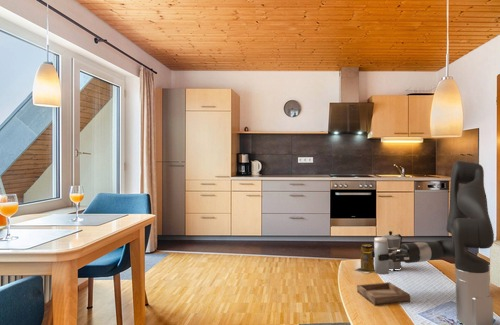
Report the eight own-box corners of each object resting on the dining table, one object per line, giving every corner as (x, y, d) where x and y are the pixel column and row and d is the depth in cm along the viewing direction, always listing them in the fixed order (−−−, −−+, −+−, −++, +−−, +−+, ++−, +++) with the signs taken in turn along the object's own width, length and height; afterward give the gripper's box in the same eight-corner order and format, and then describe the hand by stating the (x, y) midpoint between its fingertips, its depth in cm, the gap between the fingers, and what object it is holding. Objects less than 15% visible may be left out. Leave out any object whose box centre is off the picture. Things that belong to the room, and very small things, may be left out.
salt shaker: (391, 273, 137) (390, 239, 137) (379, 275, 137) (378, 240, 136) (384, 270, 142) (383, 236, 142) (372, 271, 141) (371, 237, 141)
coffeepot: (392, 273, 167) (391, 234, 167) (374, 268, 175) (373, 231, 175) (411, 267, 176) (409, 230, 176) (393, 263, 184) (392, 227, 184)
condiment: (378, 270, 173) (377, 245, 173) (366, 273, 168) (365, 248, 168) (365, 267, 179) (364, 242, 179) (354, 270, 174) (353, 245, 174)
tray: (410, 302, 133) (409, 294, 133) (374, 305, 131) (374, 297, 131) (389, 289, 147) (389, 282, 147) (357, 292, 145) (357, 285, 145)
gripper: (404, 239, 149) (365, 242, 146) (426, 247, 134) (384, 250, 132) (405, 257, 149) (366, 260, 146) (427, 267, 135) (385, 271, 132)
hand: (375, 255), depth 139 cm, fingers closed on salt shaker, 5 cm apart
